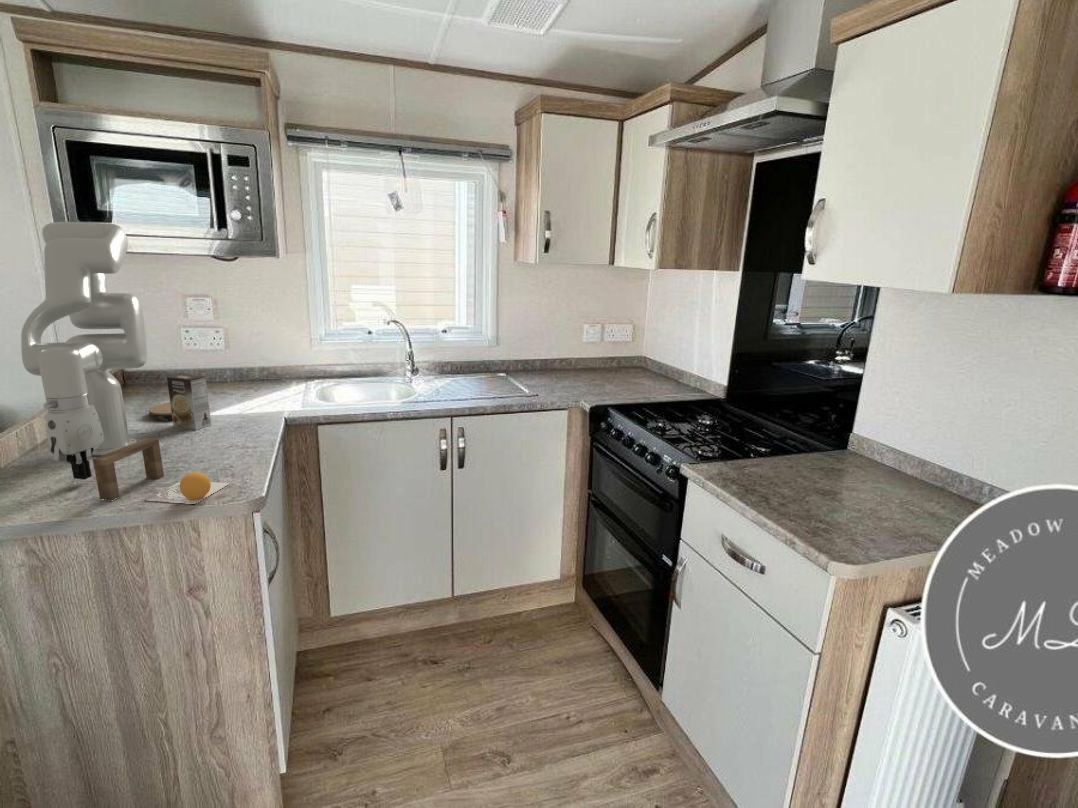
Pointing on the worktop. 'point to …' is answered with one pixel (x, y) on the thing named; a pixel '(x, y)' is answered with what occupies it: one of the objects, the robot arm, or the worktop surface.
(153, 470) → the bridge
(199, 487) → the ball
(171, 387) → the coffee box
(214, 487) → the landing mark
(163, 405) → the wood slice
